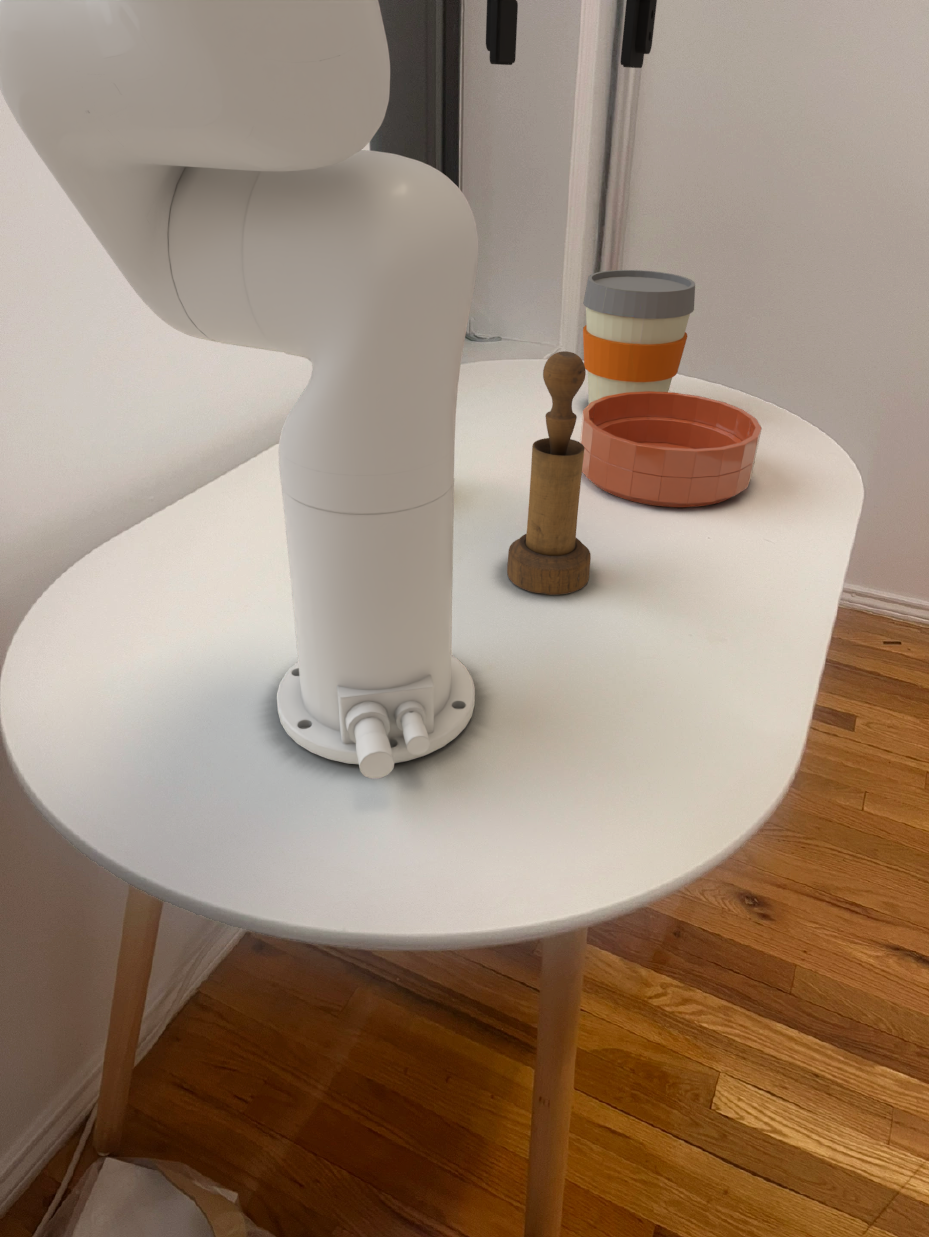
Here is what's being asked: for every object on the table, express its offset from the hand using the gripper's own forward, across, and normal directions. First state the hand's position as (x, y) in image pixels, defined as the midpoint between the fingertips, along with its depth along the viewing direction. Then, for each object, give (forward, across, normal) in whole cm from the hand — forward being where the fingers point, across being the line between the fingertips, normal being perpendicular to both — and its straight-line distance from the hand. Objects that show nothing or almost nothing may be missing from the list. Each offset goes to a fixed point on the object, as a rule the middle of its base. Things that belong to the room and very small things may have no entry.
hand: (565, 66), depth 62 cm
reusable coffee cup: (+35, -2, +34) cm, 49 cm away
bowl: (+35, +8, +16) cm, 39 cm away
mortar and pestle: (+36, +5, -9) cm, 37 cm away
